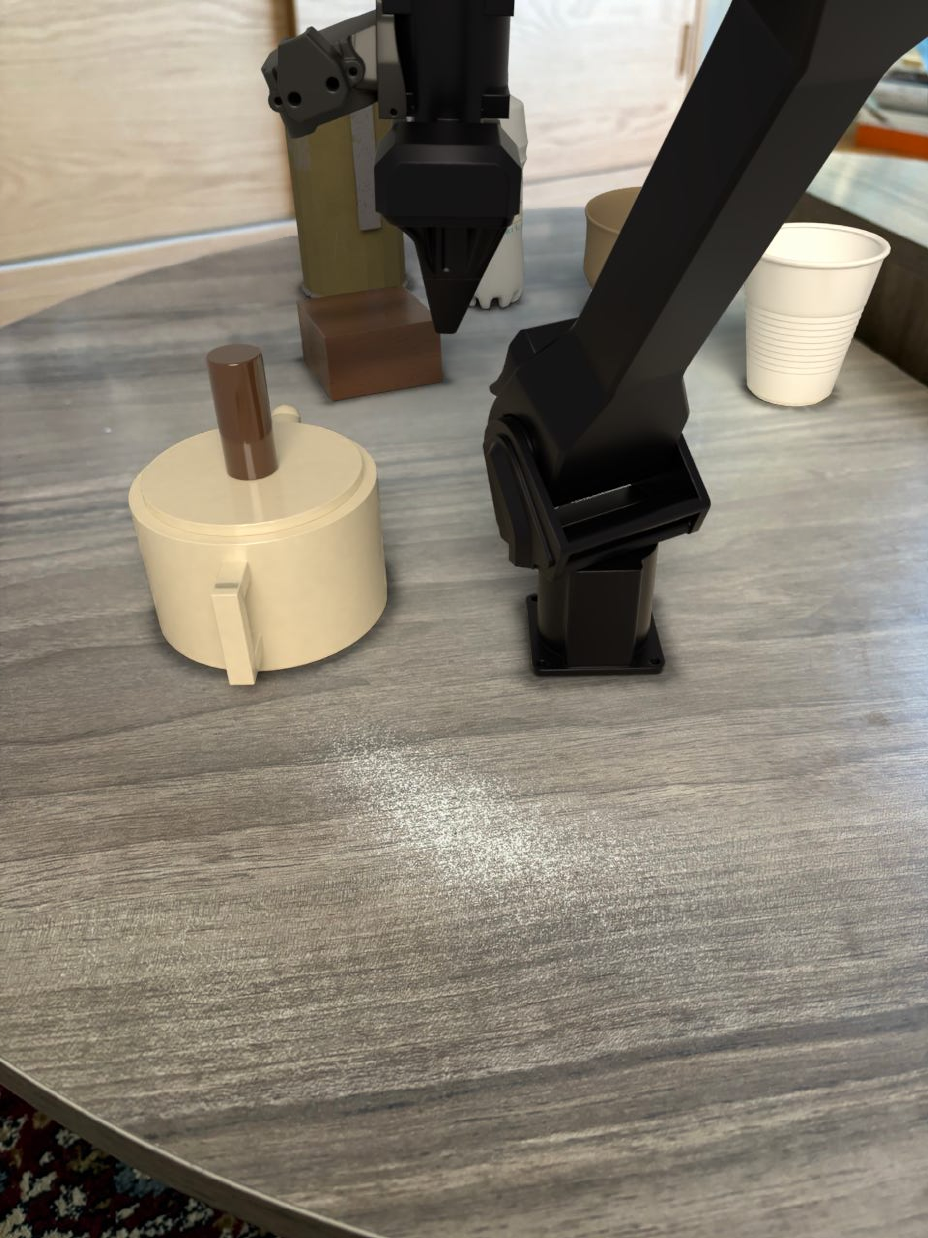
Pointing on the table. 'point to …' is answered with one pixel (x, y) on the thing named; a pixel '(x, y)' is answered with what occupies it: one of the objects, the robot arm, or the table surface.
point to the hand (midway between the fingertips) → (445, 295)
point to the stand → (369, 342)
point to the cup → (807, 308)
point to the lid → (249, 461)
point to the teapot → (268, 583)
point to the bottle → (508, 231)
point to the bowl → (605, 227)
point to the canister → (343, 208)
